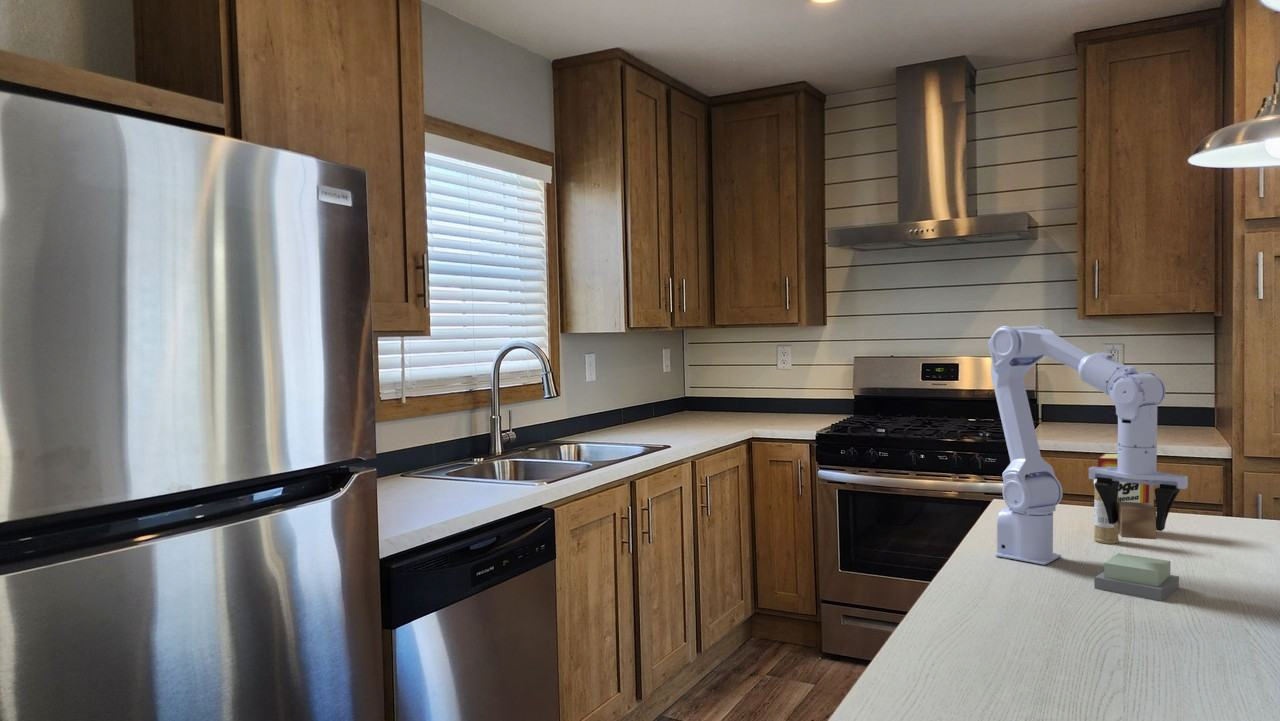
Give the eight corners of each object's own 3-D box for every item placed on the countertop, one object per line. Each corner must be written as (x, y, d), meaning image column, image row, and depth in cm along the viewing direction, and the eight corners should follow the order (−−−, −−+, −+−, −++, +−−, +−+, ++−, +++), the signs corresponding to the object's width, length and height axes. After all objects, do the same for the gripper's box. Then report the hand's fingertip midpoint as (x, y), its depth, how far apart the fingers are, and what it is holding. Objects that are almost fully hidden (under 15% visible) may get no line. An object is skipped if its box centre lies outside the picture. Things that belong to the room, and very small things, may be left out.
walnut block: (1121, 537, 148) (1121, 507, 147) (1117, 530, 152) (1117, 501, 152) (1155, 539, 146) (1156, 509, 146) (1150, 532, 150) (1150, 503, 150)
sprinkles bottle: (1123, 542, 179) (1123, 475, 178) (1111, 545, 177) (1111, 478, 176) (1100, 537, 183) (1101, 472, 182) (1088, 540, 180) (1089, 475, 180)
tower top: (1104, 577, 149) (1104, 562, 149) (1118, 567, 155) (1118, 553, 155) (1157, 586, 144) (1158, 571, 143) (1170, 575, 149) (1170, 561, 149)
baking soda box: (1153, 530, 188) (1154, 455, 187) (1148, 537, 183) (1149, 459, 182) (1103, 525, 194) (1104, 452, 193) (1097, 531, 189) (1098, 456, 188)
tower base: (1094, 591, 149) (1094, 577, 149) (1114, 579, 156) (1114, 565, 156) (1160, 604, 142) (1161, 589, 142) (1178, 591, 149) (1179, 576, 149)
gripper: (1193, 446, 146) (1192, 528, 147) (1099, 439, 156) (1098, 515, 157) (1181, 451, 141) (1180, 536, 142) (1084, 443, 151) (1083, 522, 152)
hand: (1136, 526), depth 149 cm, fingers closed on walnut block, 7 cm apart
